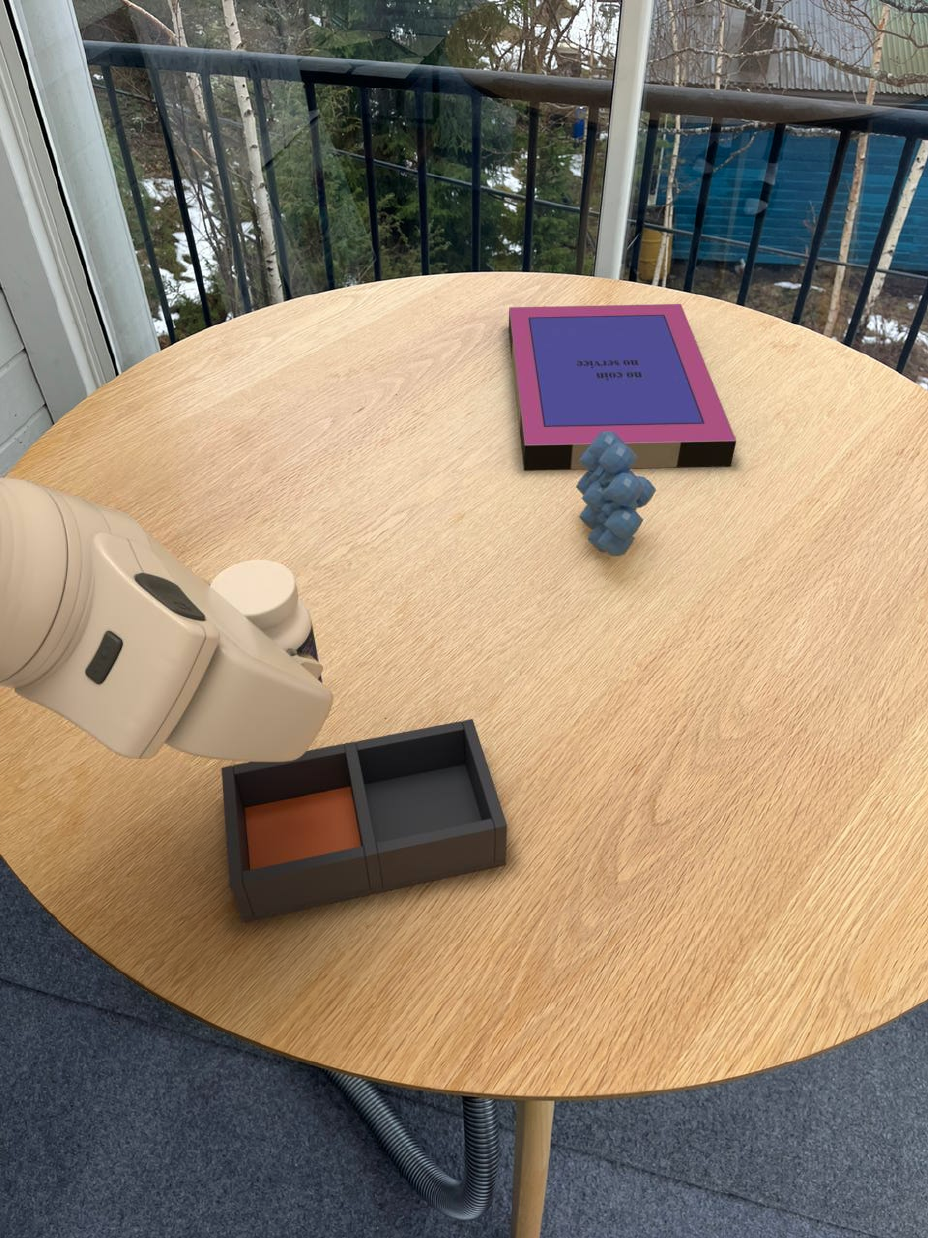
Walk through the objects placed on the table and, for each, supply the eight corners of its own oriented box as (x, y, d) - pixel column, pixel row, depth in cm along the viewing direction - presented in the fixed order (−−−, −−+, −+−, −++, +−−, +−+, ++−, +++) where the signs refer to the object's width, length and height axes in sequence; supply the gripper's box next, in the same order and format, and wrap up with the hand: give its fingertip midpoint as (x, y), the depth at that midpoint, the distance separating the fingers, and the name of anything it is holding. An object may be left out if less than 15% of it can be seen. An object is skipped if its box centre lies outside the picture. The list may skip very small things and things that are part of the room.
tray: (242, 923, 60) (229, 885, 57) (233, 806, 66) (221, 767, 63) (505, 864, 63) (507, 825, 59) (473, 758, 69) (472, 718, 66)
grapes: (668, 583, 83) (690, 470, 74) (594, 593, 82) (607, 480, 73) (629, 504, 91) (644, 394, 82) (561, 512, 90) (569, 402, 82)
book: (680, 303, 115) (736, 440, 93) (677, 326, 117) (730, 466, 95) (509, 307, 115) (524, 445, 93) (508, 330, 117) (523, 470, 95)
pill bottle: (344, 695, 58) (326, 573, 51) (286, 759, 54) (259, 636, 48) (271, 661, 60) (244, 539, 53) (211, 721, 57) (174, 598, 50)
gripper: (-60, 549, 48) (154, 600, 60) (144, 783, 37) (357, 789, 49) (-7, 441, 47) (200, 513, 59) (218, 649, 36) (417, 687, 48)
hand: (273, 640), depth 54 cm, fingers closed on pill bottle, 6 cm apart
